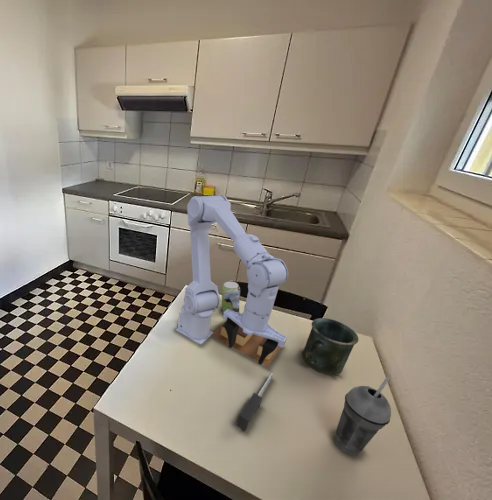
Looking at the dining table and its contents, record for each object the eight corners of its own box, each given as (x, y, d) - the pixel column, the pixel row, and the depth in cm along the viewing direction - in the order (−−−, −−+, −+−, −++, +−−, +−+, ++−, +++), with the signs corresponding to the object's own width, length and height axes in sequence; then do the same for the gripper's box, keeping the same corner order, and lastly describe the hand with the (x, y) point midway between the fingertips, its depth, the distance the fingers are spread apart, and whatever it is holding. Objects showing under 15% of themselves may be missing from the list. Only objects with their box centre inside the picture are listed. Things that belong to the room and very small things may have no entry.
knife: (236, 425, 62) (239, 414, 61) (265, 378, 74) (269, 369, 73) (245, 431, 61) (248, 421, 59) (273, 383, 73) (276, 373, 72)
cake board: (210, 336, 89) (210, 335, 88) (227, 320, 97) (228, 318, 97) (267, 368, 78) (267, 366, 78) (281, 347, 86) (281, 345, 86)
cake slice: (256, 354, 82) (259, 343, 80) (266, 340, 87) (269, 330, 86) (268, 360, 80) (272, 349, 78) (277, 346, 85) (281, 336, 84)
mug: (351, 370, 79) (367, 337, 74) (320, 388, 73) (335, 353, 68) (314, 345, 88) (327, 314, 83) (284, 359, 81) (295, 326, 76)
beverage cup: (319, 428, 63) (350, 361, 55) (349, 426, 63) (384, 360, 55) (343, 464, 56) (383, 393, 48) (376, 462, 57) (421, 392, 49)
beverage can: (239, 320, 98) (246, 290, 93) (217, 316, 99) (223, 287, 94) (237, 309, 103) (243, 281, 98) (217, 306, 104) (222, 278, 100)
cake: (220, 334, 89) (222, 324, 87) (231, 323, 94) (233, 313, 93) (242, 346, 84) (245, 336, 83) (253, 334, 90) (255, 324, 88)
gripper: (221, 301, 66) (212, 346, 71) (285, 331, 57) (269, 379, 62) (234, 291, 71) (224, 333, 76) (295, 317, 62) (279, 362, 67)
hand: (245, 353), depth 70 cm, fingers open, 7 cm apart
